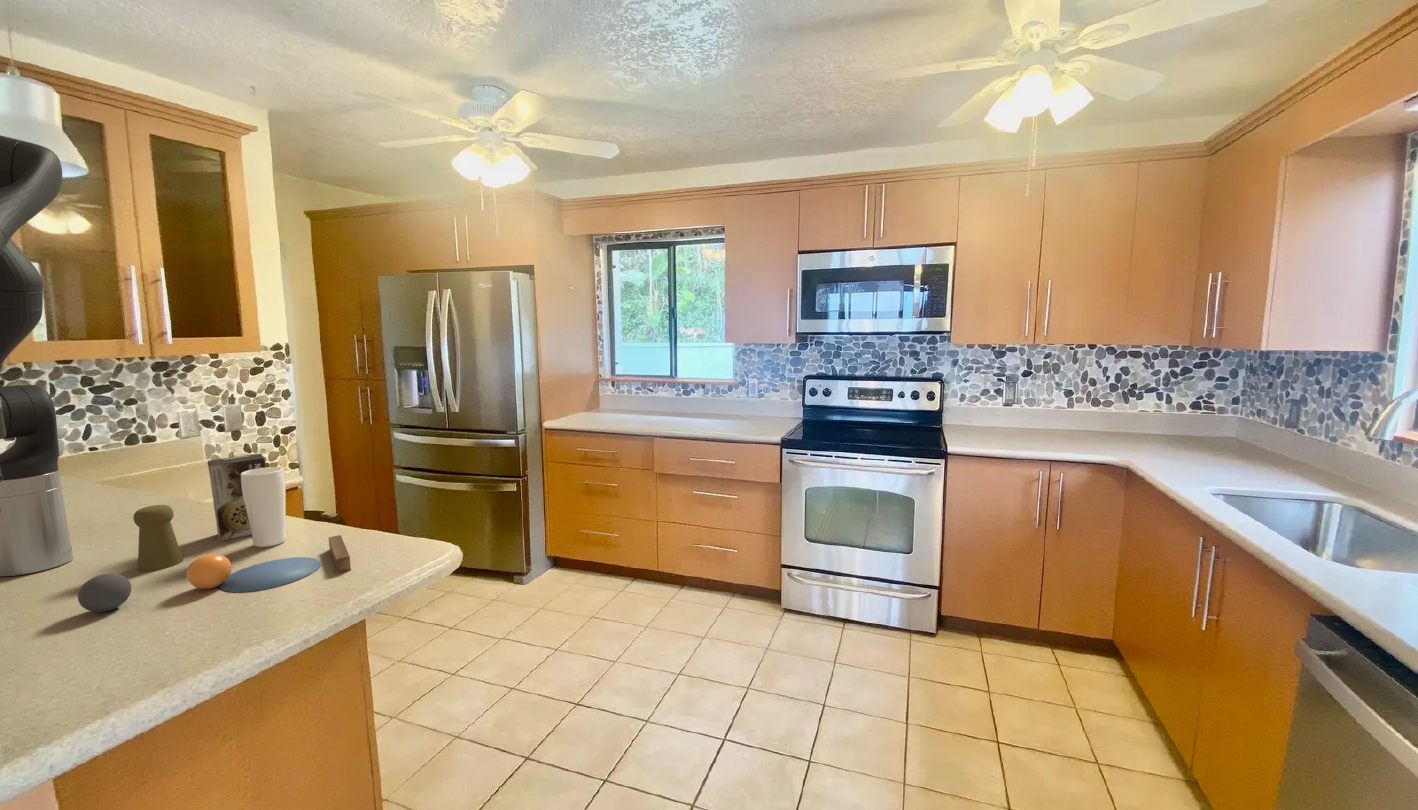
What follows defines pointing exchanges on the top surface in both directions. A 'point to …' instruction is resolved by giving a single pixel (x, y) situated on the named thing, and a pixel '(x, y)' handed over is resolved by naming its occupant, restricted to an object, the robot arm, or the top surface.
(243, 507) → the coffee box
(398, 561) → the top surface
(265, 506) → the drinking glass
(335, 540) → the brown bar
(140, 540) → the cork
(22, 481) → the robot arm
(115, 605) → the gray ball
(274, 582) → the blue flat round disc
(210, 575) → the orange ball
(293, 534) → the top surface
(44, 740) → the top surface
